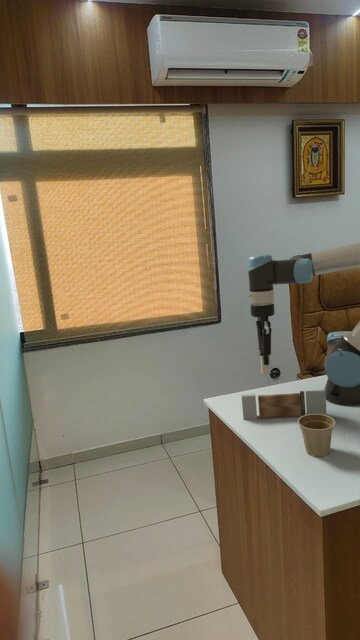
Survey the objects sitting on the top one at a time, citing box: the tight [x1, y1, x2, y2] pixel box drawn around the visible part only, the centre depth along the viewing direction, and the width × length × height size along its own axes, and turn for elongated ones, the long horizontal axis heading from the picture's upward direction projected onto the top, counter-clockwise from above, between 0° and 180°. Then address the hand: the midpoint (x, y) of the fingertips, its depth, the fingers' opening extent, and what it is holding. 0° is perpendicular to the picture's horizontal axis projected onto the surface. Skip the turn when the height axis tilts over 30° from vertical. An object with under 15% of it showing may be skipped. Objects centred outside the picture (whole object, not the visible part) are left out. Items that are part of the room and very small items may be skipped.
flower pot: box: [297, 414, 336, 457], centre depth 110 cm, size 9×9×9 cm
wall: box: [241, 389, 328, 421], centre depth 132 cm, size 26×2×8 cm, turn 83°
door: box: [257, 390, 307, 417], centre depth 132 cm, size 14×2×8 cm, turn 83°
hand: (266, 373), depth 137 cm, fingers closed
